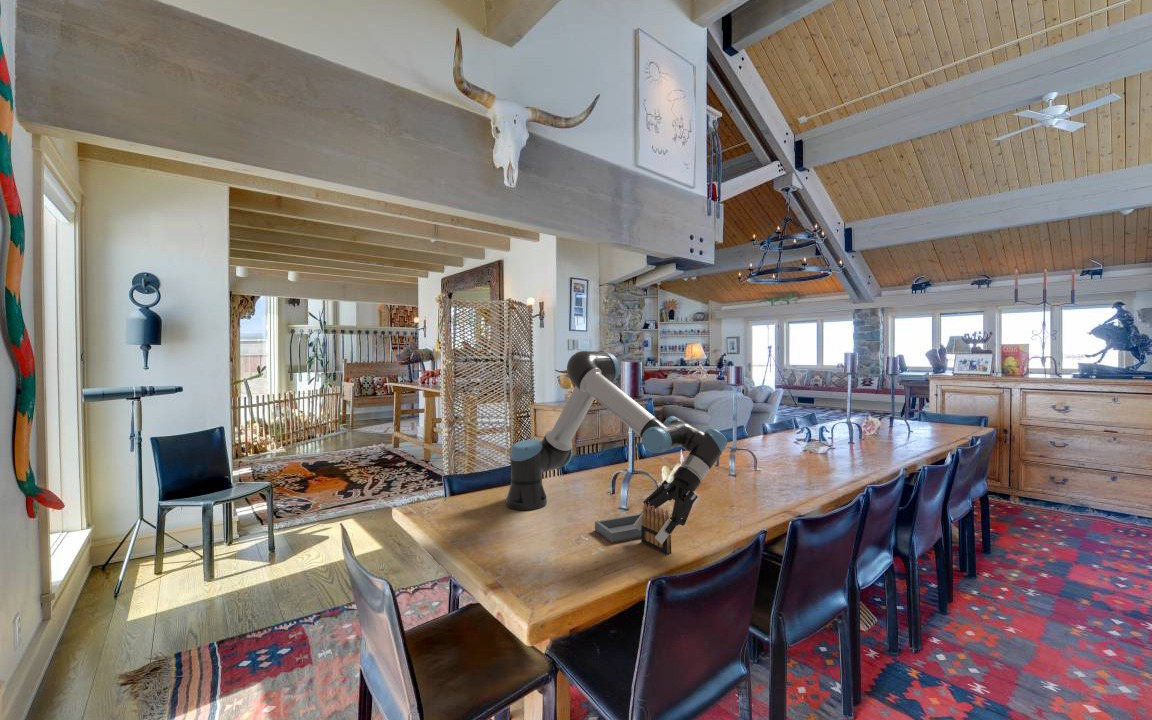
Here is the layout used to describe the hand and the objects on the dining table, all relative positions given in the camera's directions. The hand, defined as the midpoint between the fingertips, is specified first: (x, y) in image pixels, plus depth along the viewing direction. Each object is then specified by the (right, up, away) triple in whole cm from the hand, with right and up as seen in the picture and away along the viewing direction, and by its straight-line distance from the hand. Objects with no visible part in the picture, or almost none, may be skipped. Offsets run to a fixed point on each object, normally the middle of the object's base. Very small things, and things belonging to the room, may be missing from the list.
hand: (647, 534), depth 131 cm
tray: (-3, -4, +14) cm, 14 cm away
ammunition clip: (+3, -5, +1) cm, 5 cm away
